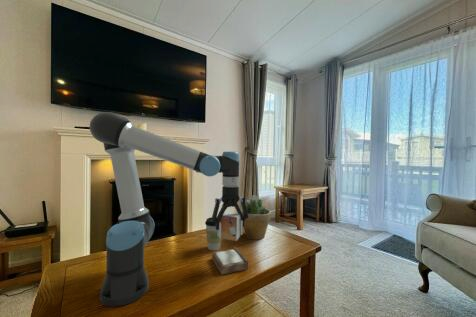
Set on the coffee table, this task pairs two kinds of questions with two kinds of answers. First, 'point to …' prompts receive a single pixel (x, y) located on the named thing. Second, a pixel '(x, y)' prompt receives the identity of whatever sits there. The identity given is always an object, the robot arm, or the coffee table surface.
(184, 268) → the coffee table surface
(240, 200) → the robot arm
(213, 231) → the coffee cup
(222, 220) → the small box
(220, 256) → the tray
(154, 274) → the coffee table surface
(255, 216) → the potted plant
